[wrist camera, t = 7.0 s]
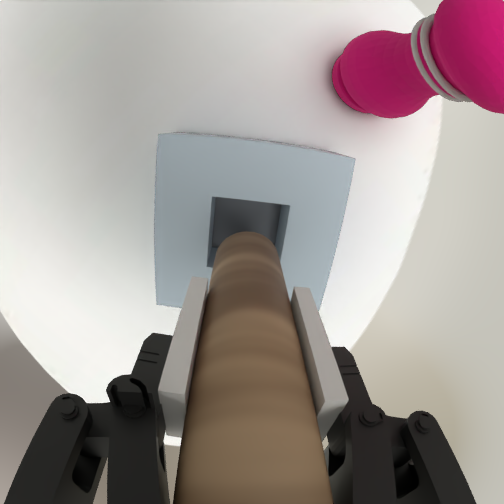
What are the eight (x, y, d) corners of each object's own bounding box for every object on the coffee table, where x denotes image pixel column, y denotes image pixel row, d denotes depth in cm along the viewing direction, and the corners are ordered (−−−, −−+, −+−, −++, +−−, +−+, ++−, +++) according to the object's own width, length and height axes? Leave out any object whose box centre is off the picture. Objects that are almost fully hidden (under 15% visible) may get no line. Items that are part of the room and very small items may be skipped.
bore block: (175, 132, 22) (158, 134, 18) (335, 152, 23) (355, 158, 19) (169, 276, 28) (156, 304, 24) (306, 290, 29) (316, 319, 25)
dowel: (218, 224, 18) (155, 546, 3) (282, 232, 18) (371, 537, 3) (213, 281, 19) (176, 555, 4) (272, 286, 20) (311, 555, 4)
